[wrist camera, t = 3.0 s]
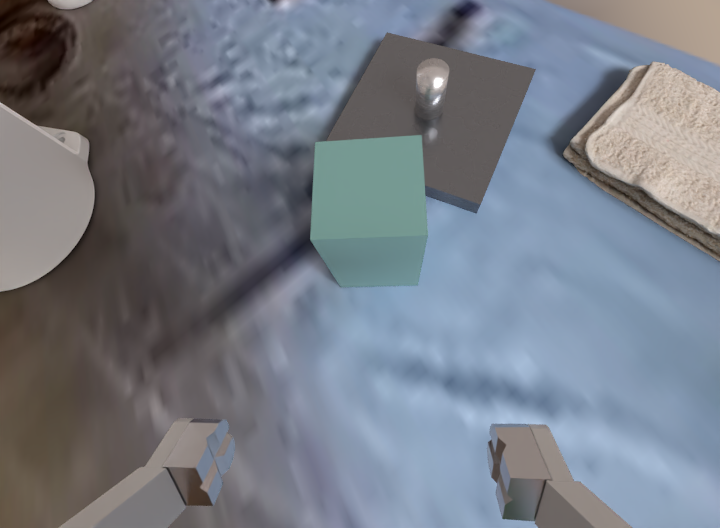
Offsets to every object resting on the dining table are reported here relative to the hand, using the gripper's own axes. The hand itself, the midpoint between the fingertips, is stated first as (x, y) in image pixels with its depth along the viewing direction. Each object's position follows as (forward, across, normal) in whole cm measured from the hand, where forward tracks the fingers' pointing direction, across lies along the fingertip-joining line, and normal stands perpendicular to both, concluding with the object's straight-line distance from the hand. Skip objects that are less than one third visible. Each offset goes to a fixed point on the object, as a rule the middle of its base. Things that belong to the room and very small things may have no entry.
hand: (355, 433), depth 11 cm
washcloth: (+23, -25, -1) cm, 34 cm away
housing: (+18, 0, +2) cm, 19 cm away
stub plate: (+27, -5, -6) cm, 28 cm away
